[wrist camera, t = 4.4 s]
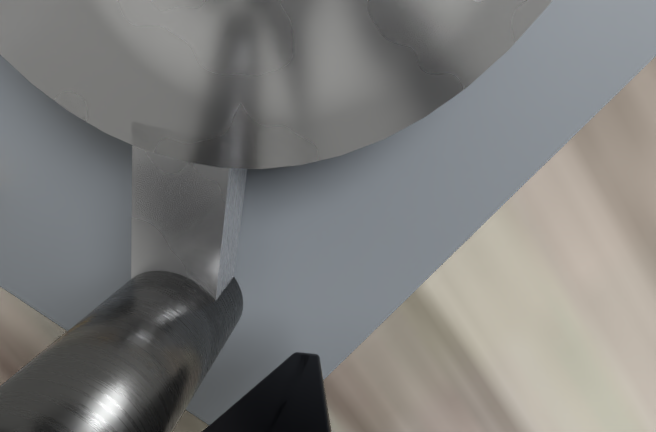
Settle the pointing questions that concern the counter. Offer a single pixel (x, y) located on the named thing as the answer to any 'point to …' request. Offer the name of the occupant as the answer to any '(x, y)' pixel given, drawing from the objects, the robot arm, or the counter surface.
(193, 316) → the silver round handled piece
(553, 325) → the counter surface
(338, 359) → the slate board
